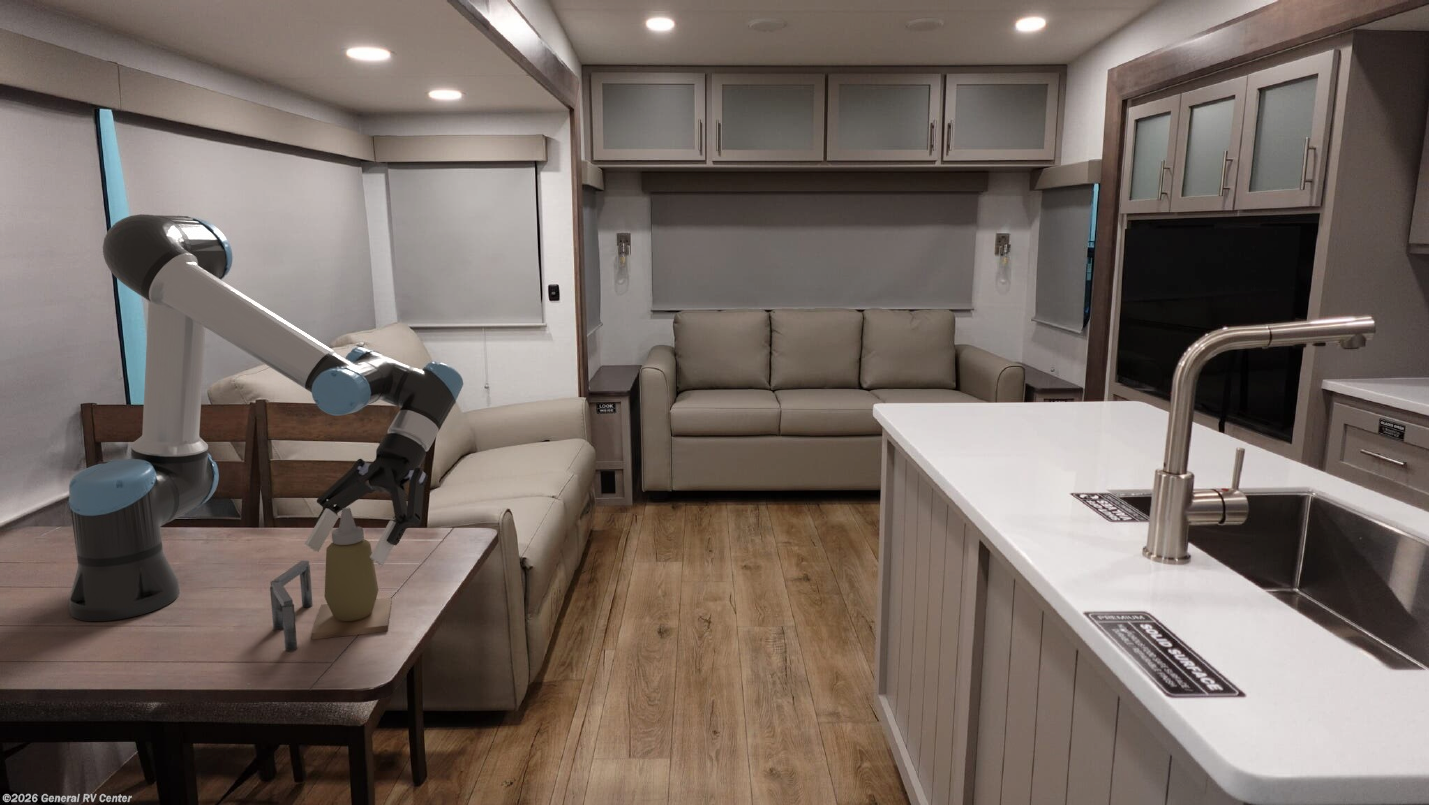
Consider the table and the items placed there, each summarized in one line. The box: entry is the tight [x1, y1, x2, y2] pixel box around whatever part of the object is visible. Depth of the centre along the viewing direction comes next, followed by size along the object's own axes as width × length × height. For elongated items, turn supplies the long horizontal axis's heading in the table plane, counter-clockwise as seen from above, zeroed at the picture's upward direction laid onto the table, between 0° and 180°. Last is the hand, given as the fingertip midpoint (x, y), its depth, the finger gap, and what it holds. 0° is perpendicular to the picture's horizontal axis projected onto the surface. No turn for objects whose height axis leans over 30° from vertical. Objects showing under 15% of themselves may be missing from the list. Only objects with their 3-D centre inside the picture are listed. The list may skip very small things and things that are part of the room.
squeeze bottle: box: [324, 507, 379, 621], centre depth 135 cm, size 8×8×18 cm
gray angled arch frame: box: [269, 560, 314, 653], centre depth 133 cm, size 5×18×8 cm, turn 18°
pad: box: [311, 597, 393, 641], centre depth 136 cm, size 11×11×1 cm
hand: (343, 554), depth 133 cm, fingers open, 13 cm apart
